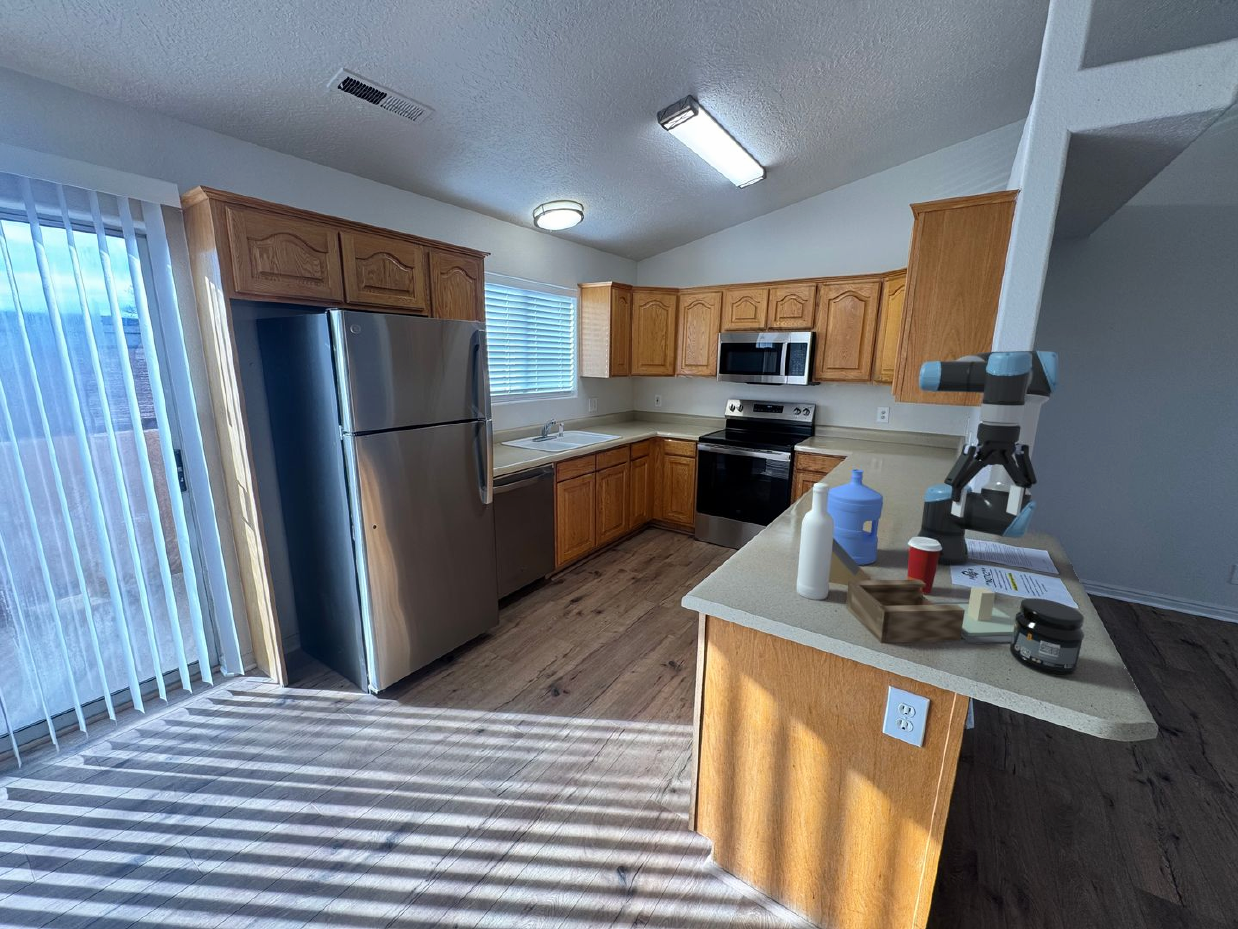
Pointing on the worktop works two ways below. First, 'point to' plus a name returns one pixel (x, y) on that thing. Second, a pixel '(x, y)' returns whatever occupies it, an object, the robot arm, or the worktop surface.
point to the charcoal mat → (981, 638)
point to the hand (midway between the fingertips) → (984, 514)
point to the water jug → (856, 518)
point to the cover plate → (987, 626)
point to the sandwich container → (844, 567)
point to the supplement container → (1047, 636)
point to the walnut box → (902, 612)
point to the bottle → (816, 547)
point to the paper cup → (923, 561)
